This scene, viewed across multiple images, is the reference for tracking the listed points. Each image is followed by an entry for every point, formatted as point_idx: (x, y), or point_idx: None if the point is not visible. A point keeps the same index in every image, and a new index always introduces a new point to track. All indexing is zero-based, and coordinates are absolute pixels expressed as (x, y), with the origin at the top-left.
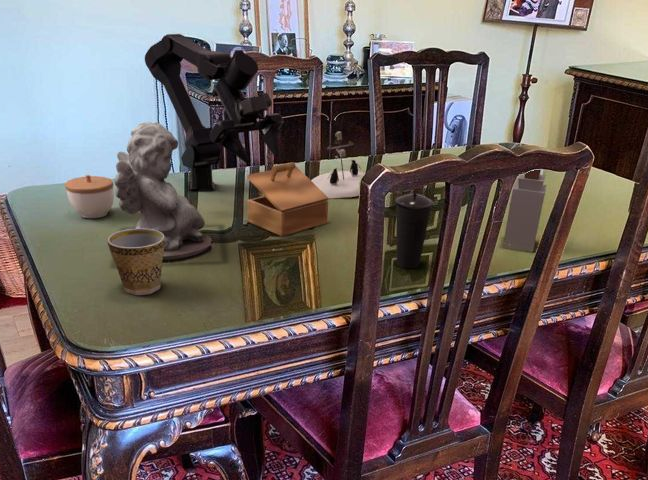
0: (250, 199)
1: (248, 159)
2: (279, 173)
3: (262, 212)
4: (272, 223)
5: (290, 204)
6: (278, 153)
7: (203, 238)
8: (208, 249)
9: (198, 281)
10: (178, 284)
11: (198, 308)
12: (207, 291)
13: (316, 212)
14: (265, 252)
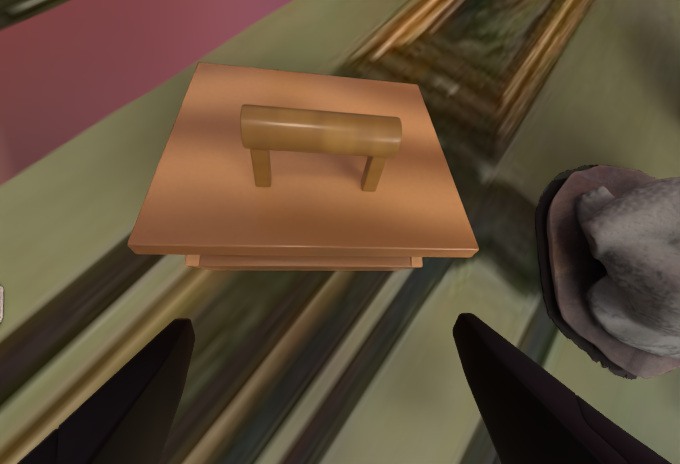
0: (410, 264)
1: (467, 317)
2: (295, 211)
3: None
4: None
5: (373, 88)
6: (173, 326)
7: (566, 215)
8: (562, 182)
9: (632, 82)
10: (661, 96)
11: (662, 16)
12: (633, 46)
13: None
14: (474, 91)
